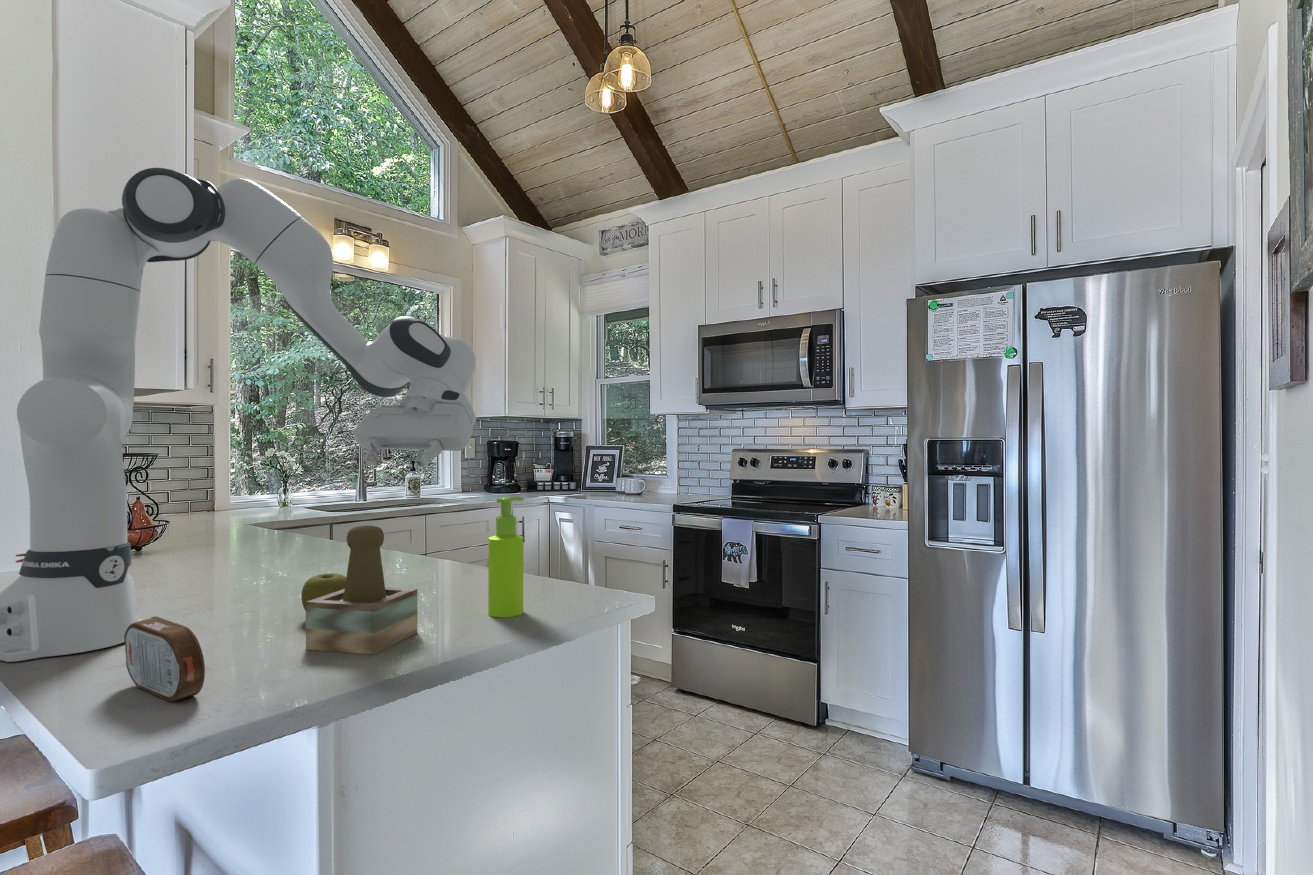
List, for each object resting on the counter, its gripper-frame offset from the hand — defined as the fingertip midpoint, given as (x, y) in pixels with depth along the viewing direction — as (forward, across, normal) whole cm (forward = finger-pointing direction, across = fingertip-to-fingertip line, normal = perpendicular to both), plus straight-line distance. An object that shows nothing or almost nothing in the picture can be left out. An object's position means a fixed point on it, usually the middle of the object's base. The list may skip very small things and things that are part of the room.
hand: (394, 463), depth 114 cm
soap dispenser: (+12, +16, +25) cm, 32 cm away
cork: (+22, +2, +7) cm, 23 cm away
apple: (+19, -12, +18) cm, 29 cm away
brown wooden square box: (+26, +2, +11) cm, 28 cm away
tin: (+43, -8, -5) cm, 44 cm away
